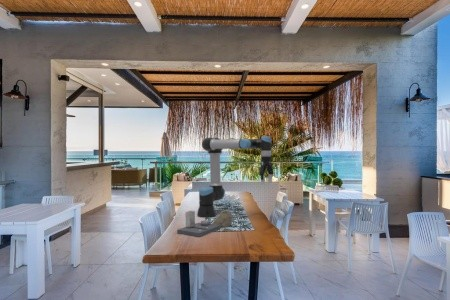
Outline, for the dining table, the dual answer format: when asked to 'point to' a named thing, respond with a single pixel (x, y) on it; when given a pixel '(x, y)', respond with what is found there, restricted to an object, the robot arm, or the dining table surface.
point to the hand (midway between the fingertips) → (266, 183)
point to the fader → (190, 219)
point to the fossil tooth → (223, 219)
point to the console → (199, 229)
